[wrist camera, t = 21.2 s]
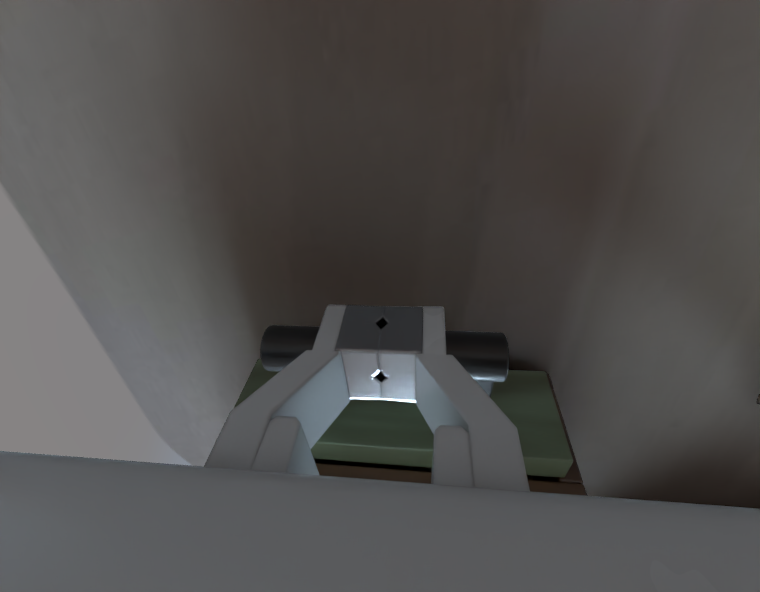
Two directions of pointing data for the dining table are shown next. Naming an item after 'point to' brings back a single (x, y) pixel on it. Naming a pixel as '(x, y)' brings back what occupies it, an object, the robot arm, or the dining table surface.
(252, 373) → the drawer
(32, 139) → the dining table surface
